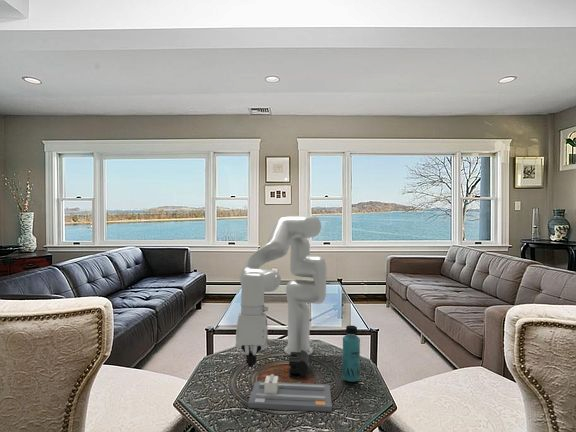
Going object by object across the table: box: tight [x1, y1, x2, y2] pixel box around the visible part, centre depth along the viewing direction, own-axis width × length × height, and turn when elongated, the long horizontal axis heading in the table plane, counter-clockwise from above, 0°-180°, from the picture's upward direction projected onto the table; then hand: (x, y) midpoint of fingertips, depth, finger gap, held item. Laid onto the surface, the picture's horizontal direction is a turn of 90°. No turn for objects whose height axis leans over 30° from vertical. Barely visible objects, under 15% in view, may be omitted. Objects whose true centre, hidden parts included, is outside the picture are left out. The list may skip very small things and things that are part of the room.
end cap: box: [288, 350, 310, 378], centre depth 133 cm, size 10×7×7 cm
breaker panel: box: [247, 381, 333, 413], centre depth 114 cm, size 14×26×2 cm, turn 86°
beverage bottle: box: [341, 325, 361, 382], centre depth 125 cm, size 6×7×20 cm
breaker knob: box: [264, 373, 279, 394], centre depth 114 cm, size 5×4×5 cm
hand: (251, 365), depth 114 cm, fingers closed
